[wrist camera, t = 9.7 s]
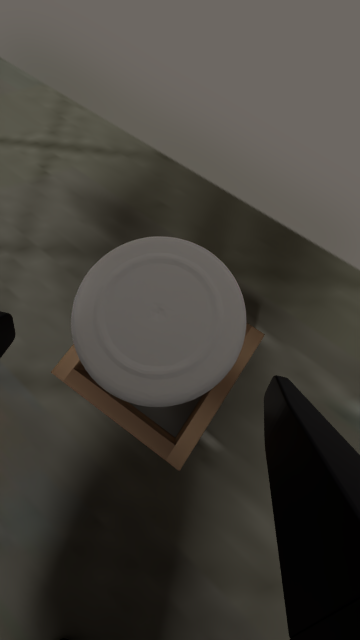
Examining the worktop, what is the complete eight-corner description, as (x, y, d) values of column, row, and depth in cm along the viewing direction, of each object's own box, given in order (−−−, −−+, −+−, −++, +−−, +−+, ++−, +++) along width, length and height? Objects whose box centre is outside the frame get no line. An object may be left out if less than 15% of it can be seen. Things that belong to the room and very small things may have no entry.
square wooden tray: (178, 457, 18) (179, 471, 15) (68, 374, 19) (50, 372, 17) (252, 341, 20) (264, 334, 18) (148, 272, 22) (144, 255, 19)
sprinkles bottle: (153, 322, 20) (111, 207, 7) (209, 343, 20) (272, 261, 7) (129, 379, 19) (30, 367, 6) (188, 402, 19) (218, 440, 6)
